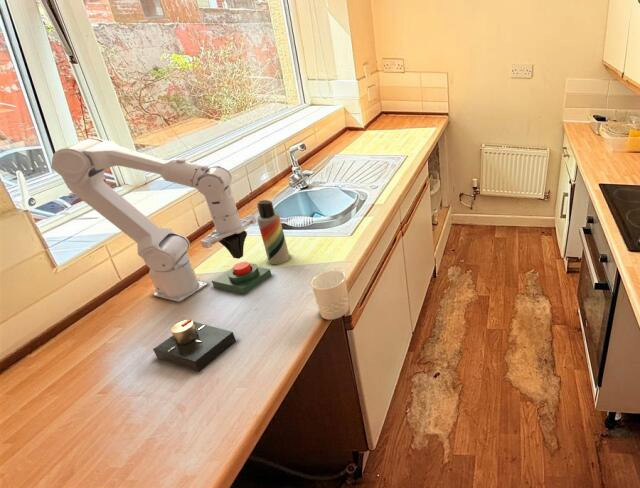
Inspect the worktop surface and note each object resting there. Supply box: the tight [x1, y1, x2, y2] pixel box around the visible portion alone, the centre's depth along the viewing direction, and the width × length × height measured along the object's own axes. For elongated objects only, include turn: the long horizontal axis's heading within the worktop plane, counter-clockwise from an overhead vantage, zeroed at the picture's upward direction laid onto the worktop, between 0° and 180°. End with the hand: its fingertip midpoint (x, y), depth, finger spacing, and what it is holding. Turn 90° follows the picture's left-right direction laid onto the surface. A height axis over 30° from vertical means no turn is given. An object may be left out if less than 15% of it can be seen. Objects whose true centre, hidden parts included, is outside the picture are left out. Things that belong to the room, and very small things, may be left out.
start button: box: [232, 261, 251, 275], centre depth 112 cm, size 4×4×2 cm
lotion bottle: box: [256, 199, 290, 265], centre depth 120 cm, size 6×6×20 cm
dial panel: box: [152, 321, 237, 373], centre depth 90 cm, size 12×9×3 cm
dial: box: [170, 318, 198, 345], centre depth 89 cm, size 4×4×4 cm
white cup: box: [310, 269, 350, 321], centre depth 101 cm, size 8×8×10 cm
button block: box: [211, 262, 272, 295], centre depth 113 cm, size 11×9×4 cm
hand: (238, 256), depth 110 cm, fingers closed
